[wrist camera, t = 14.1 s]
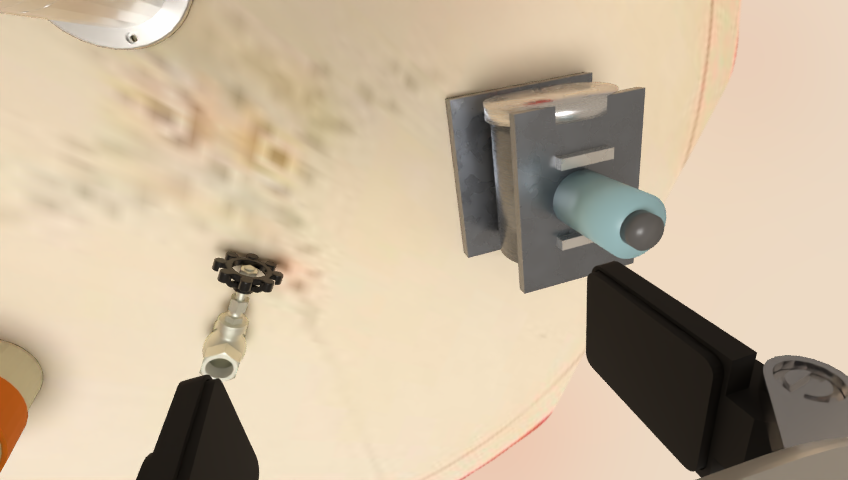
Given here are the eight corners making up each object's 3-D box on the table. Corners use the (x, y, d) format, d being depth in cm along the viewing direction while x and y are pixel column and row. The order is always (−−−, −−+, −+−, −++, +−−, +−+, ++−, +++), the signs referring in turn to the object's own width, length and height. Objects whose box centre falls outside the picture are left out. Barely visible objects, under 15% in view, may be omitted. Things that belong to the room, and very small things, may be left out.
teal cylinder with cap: (552, 177, 38) (616, 208, 30) (605, 163, 38) (681, 191, 31) (553, 230, 40) (614, 273, 32) (604, 217, 41) (675, 255, 33)
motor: (445, 98, 45) (495, 114, 33) (584, 72, 47) (675, 77, 36) (464, 252, 52) (510, 308, 41) (582, 221, 55) (657, 266, 43)
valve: (254, 351, 50) (284, 261, 47) (248, 390, 45) (282, 290, 41) (193, 340, 48) (220, 245, 45) (178, 380, 42) (207, 274, 39)
